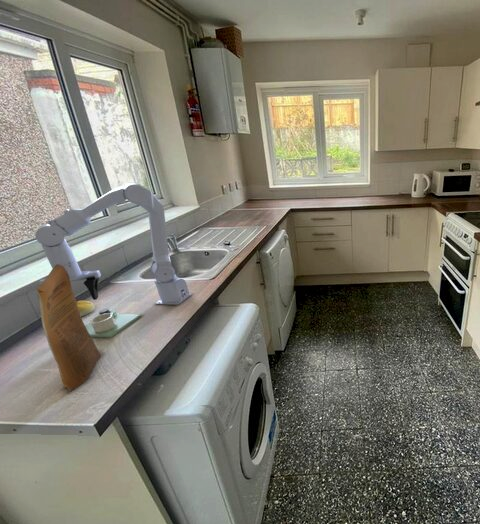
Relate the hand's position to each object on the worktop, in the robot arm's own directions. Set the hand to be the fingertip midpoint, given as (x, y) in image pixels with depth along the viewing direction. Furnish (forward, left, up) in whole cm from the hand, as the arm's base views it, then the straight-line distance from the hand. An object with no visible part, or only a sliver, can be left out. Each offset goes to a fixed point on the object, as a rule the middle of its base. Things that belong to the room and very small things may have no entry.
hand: (81, 301), depth 94 cm
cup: (-8, +2, -8) cm, 12 cm away
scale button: (-2, -3, -7) cm, 8 cm away
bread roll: (+13, -7, -10) cm, 18 cm away
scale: (-6, 0, -9) cm, 11 cm away
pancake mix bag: (-19, +19, -10) cm, 29 cm away
